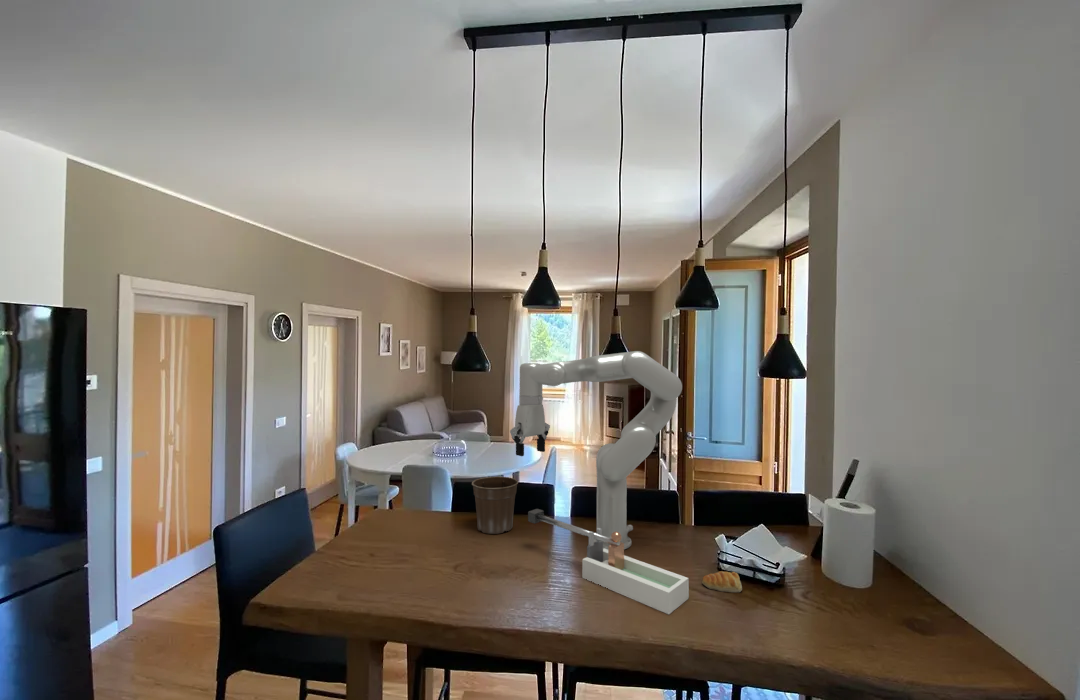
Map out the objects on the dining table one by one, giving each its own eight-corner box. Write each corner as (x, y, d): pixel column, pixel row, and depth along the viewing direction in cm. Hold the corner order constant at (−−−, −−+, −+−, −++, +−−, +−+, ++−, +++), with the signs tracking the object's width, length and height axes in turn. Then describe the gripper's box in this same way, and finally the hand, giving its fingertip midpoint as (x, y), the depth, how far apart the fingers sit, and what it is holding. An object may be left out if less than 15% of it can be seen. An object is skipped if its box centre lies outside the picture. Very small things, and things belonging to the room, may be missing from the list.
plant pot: (472, 520, 167) (472, 476, 168) (516, 519, 169) (516, 475, 169) (470, 537, 151) (470, 488, 151) (519, 536, 153) (519, 487, 153)
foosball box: (604, 565, 131) (604, 525, 131) (688, 598, 113) (688, 551, 113) (582, 577, 124) (582, 534, 124) (668, 614, 106) (668, 564, 106)
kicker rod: (537, 535, 145) (537, 503, 146) (625, 568, 123) (625, 530, 123) (527, 539, 142) (527, 506, 143) (615, 573, 120) (615, 535, 120)
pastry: (706, 592, 116) (706, 577, 116) (698, 580, 123) (698, 566, 123) (744, 594, 116) (744, 579, 116) (734, 581, 123) (734, 567, 123)
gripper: (540, 398, 159) (540, 448, 158) (503, 401, 146) (503, 455, 146) (557, 400, 153) (556, 451, 153) (519, 403, 141) (519, 459, 141)
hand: (530, 453), depth 149 cm, fingers open, 9 cm apart
